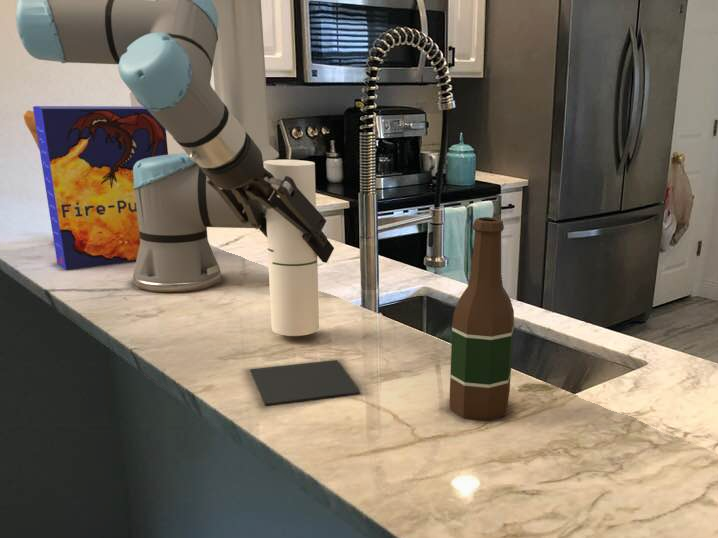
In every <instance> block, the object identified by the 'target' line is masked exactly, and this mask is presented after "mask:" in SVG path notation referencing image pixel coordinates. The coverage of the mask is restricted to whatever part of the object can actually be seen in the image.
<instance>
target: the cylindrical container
mask: <svg viewBox="0 0 718 538" xmlns="http://www.w3.org/2000/svg"><path fill="white" fill-rule="evenodd" d="M263 163H264V168H265V169H266V170H267V171H268V172H270V173H271V174H272V175H273V176H274V178H275V179H279V180H282V181H283V180H284V178H285V176H288V177H290V178H292V179H293V181H294V183H295V185H296V187H297V188H298V189H299V190H300V192H301V193H302V194H303V195H304V196H305V197H306V198H307V199H308V200H309V202H310V203H311V204H312V205H313V206H314V207H315V208H316V209H317V196H316V195H317V194H316V193H317V191H316V190H317V189H316V163H315V162H314V161H309V160H300V159H279V160H268V161H264V162H263ZM273 193H274V191H273ZM273 193H272V195H273ZM272 195H271V196H272ZM270 198H271V197H270ZM270 198H269V199H268V200H270ZM266 224H267V237H266V240H267V241H266V242H267V262H268V264H267V265H268V277H269V278H268V282H269V283H268V284H269V300H270V301H269V302H270V303H269V304H270V320H271V321H270V322H271V331H272V332H273V333H275V334H276V335H281V336H287V337H288V336H289V337H300V336H307V335H312V334H314V333H317V332H318V331H319V330H320V311H319V304H320V303H319V273H318V272H319V271H318V270H319V268H318V256H317V255H316V253H315V252H314V251H313V250H312V248H311V247H310V246H309V245H308V244H307V242H306V241H305V240H303V238H302V235H303V233H302V232H301V231H300V230H299V229H297V228H296V227H295V226H294V225H292V224H291V223H290V222H289V221H288V220H286V219H285V218H284V217H283V216H281V215H280V214H279V213H278V212H277V211H275V210H274V209H273V208H271V209H268V208H266Z"/></svg>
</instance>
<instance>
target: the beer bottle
mask: <svg viewBox="0 0 718 538" xmlns="http://www.w3.org/2000/svg"><path fill="white" fill-rule="evenodd" d="M504 229H505V225H504V221H503V220H502V219H500V218H498V217H492V216H491V217H489V216H481V217H477V218H475V220H474V221H473V224H472V230H474V237H473V246H472V255H471V266H470V274H469V280H468V283H467V287H466V288H465V290H464V291H463V293H461V296H460V297H459V299H458V301H457V304H456V306H455V308H454V311H453V315H452V323H451V324H452V325H451V343H450V344H451V347H450V374H449V375H450V377H449V409H450V410H451V412H454V413H455V414H457V415H458V416H459V417H461V418H463V419H467V420H475V421H476V420H477V421H486V422H487V421H490V420H493V419H494V420H495V419H497V418H501V417H504V416H505V415H506V413H507V409H508V406H509V399H510V392H511V391H510V390H511V389H510V388H511V375H512V359H513V346H514V331H515V310H514V307H513V303H512V300H511V298H510V296H509V294H508V293H507V291H506V289H505V288H504V284H503V277H502V232H503V231H504Z"/></svg>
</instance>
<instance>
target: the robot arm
mask: <svg viewBox="0 0 718 538" xmlns="http://www.w3.org/2000/svg"><path fill="white" fill-rule="evenodd" d="M262 14H263V12H262V0H17V3H16V8H15V23H16V28H17V29H16V30H17V33H18V35H19V38H20V41H21V44H22V46H23V47H24V49H25V51H26V52H27V53H28V55H30V56H31V57H32V58H34V59H36V60H40V61H47V62H49V61H50V62H56V63H57V62H58V63H61V64H69V63H70V64H71V63H72V64H96V65H97V64H99V65H118V74H119V76H120V79H121V80H122V82H123V83H124V84H125V86H126V87H127V88H128V89H129V91H130V92H131V93H132V94H133V96H134V98H135V99H136V101H137V102H138V104H140V106H141V107H145V108H146V109H147V110H148V111H149V112H150V113H151V114H152V115H153V116H154V117H155V118H156V120H157V121H158V122H159V123H160V124H161V125H162V126H163V127H164V128H165V129H166V132H167V133H168V134H170V136H171V137H172V139H173V140H174V141H175V142H176V143H177V144H178V145H179V146H180V147H181V149H183V150H184V152H181V153H171V154H169V153H168V155H162V156H155V157H150V158H145V159H142V160H139V161H137V162H136V163H135V165H134V167H133V178H134V185H133V189H134V192H135V201H136V209H137V217H138V226H139V234H140V247H139V251H138V255H137V259H136V262H135V265H134V269H133V276H132V277H133V284H134V286H135V287H137V288H139V289H141V290H144V291H151V292H159V293H180V292H181V293H182V292H183V293H184V292H193V291H198V290H205V289H208V288H211V287H214V286H216V285H217V284H219V283H220V282H222V275H221V274H222V273H221V269H220V265H219V264H218V261H217V258H216V256H215V254H214V251H213V249H212V247H211V244H210V242H209V237H208V228H220V229H221V228H222V229H223V228H224V229H227V228H228V229H255V230H259V231H260V232H261V233H262V234H263V235H264V236H265V237H266V238H267V224H266V208H268V209H271V208H273V209H274V210H275V211H277V212H278V213H279V214H280V215H281V216H283V217H284V218H285V219H286V220H288V221H289V222H290V223H291V224H292V225H294V226H295V227H296V228H297V229H299V230H300V231H301V232H302V233H303V235H302V238H303V240H305V241H306V242H307V244H308V245H309V246H310V247H311V248H312V250H313V251H314V252H315V253H316V255H317V258H319V260H320V261H321V262H322V263H325V264H327V263H328V262H329V259H330V258H331V255H332V254H333V252H334V250H335V247H334V246H333V245H332V243H331V242H330V241H329V239H328V237H327V236H326V234H325V232H323V229H324V227H325V225H326V224H327V220H326V218H325V217H324V216H323V215H322V214H321V213H320V212H319V210H318V209H317V207H316V208H315V207H314V206H313V205H312V204H311V203H310V202H309V200H308V199H307V198H306V197H305V196H304V195H303V194H302V193H301V192H300V190H299V189H298V188H297V187H296V185H295V183H294V181H293V179H292V178H290V177H288V176H285V178H284V180H283V181H282V180H279V179H275V178H274V176H273V175H272V174H271V173H270V172H268V171H267V170H266V169H265V168H264V163H263V162H264V161H268V160H280V154H279V152H278V150H276V149H275V148H274V147H273V146H272V145H271V143H270V129H269V127H270V126H269V111H268V110H269V109H268V95H267V77H266V64H265V63H266V62H265V61H266V59H265V45H264V43H265V42H264V30H263V27H264V26H263V15H262ZM212 74H213V75H212ZM212 76H213V85H214V89H213V87H212V84H211V81H212ZM273 191H274V193H273ZM272 193H273V195H272ZM271 195H272V196H271ZM270 197H271V198H270ZM269 198H270V200H268V199H269Z"/></svg>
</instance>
